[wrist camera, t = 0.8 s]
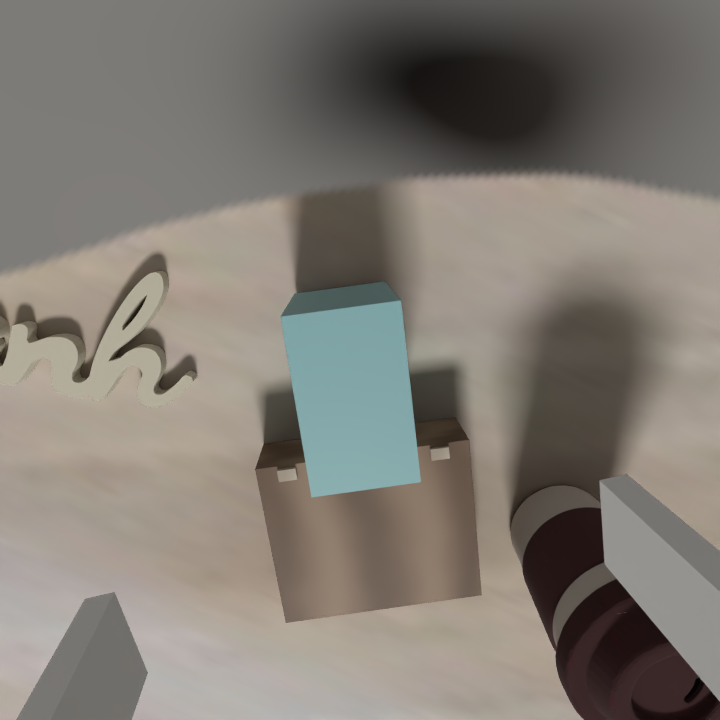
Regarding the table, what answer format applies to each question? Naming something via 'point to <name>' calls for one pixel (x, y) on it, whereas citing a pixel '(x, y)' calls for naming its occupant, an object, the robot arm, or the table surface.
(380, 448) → the light teal block
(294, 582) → the brown block
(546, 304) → the table surface
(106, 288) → the table surface
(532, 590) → the coffee cup
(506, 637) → the table surface
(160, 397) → the decorative sign
